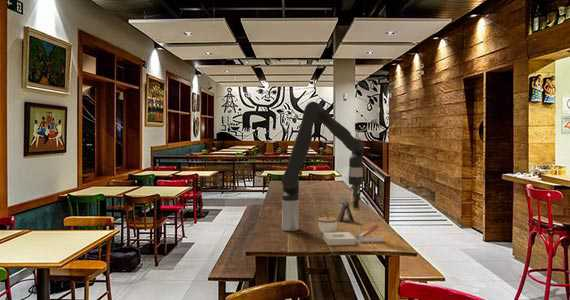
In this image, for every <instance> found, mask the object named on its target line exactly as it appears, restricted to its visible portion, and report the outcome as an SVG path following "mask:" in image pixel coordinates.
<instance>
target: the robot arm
mask: <svg viewBox="0 0 570 300" xmlns="http://www.w3.org/2000/svg"><path fill="white" fill-rule="evenodd" d="M315 121H317V122H319V123H320V124H322V125H324V127H326V128H327V129H328V130H329V132H330V133H331V134H333V136H335V137H336V138H337V140H339V141H340V142H342V144H343V145H344V146H345V147H346V149H348V150H349V151H351V156H349V160H348V161H349V163H348V164H349V168H348V184H349V185H351V186H350V192H351V191H352V192H353V196H354V207H355V208H358V201H359V200H360V201H361V192H362V190H361V188H360V186H362V185H363V178H364V177H363V175H364V174H363V173H364V170H363V158H364V157H363V156H364V152H365V143H364V141H363V140H362V139H361V138H355V137H354V136H353V135H352V133H351V132H350V131H349V130H348V128H346V127H345V126H344V125H343V124H341V123H340V122H338V120H336V119H335V118H334V117H332V116H331V115H330V114H329V113H328V111H327V110H326V109H325V108H324V107H323V105H321V104H320V103H319V102H316V101H310V102H308V103H307V104H306V105H305V107H304V110H303V114H302V119H301V123H300V126H299V129H298V131H297V134H296V137H295V140H294V143H293V145H292V148H291V149H292V150H291V152H290V157H289V160H288V161H289V162H288V164H287V166H286V169H285V170H284V171H285V172H284V174H283V175H282V177H281V185H282V198H281V199H282V201H281V203H282V205H281V206H282V213H281V230H282V231H285V232H286V231H288V232H290V231H291V232H294V231H295V232H296V231H298V230H299V190H300V189H299V187H300V185H299V184H300V182H299V180H300V179H299V176H300V175H299V174H300V171H301V168H302V166H303V164H304V161H305V160H306V158H307V156H308V153H309V151H310V148H311V144H312V139H313V137H312V136H313V128H314V124H315ZM356 197H358V198H356Z"/></svg>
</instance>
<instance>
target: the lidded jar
mask: <svg viewBox="0 0 570 300" xmlns="http://www.w3.org/2000/svg"><path fill="white" fill-rule="evenodd" d="M317 220H318V221H317V222H318V223H317V224H318V229H319V230H320V232H321V233H322V234H323V233H335V231H336V230H337V227H338V217H337V218H336V217H333V216H330V215H327V216H324V217H323V216H322V217H321V216H320V217H319V218H317Z"/></svg>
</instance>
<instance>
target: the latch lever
mask: <svg viewBox="0 0 570 300" xmlns="http://www.w3.org/2000/svg"><path fill="white" fill-rule="evenodd" d="M379 228H380V226H379V225H378V224H375V225H373V226H371V227H370V228H368V229H367V230H364V231H363V232H362V233H361V232H360V235H358V238H359V236H363V238H366V236H369V234H371V233H373V232H374V231H376V230H378V229H379Z"/></svg>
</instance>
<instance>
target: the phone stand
mask: <svg viewBox="0 0 570 300" xmlns="http://www.w3.org/2000/svg"><path fill="white" fill-rule="evenodd" d="M341 203H342V205H341V208H340V212H339V214H338V217H337V221H338V222H340V223H349V221H355V220H354V216H353V214H352V212H351V208H350V203H349V202H347V200H346V201H342V202H341ZM345 213H346V214H347V218H344V217H345Z"/></svg>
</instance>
